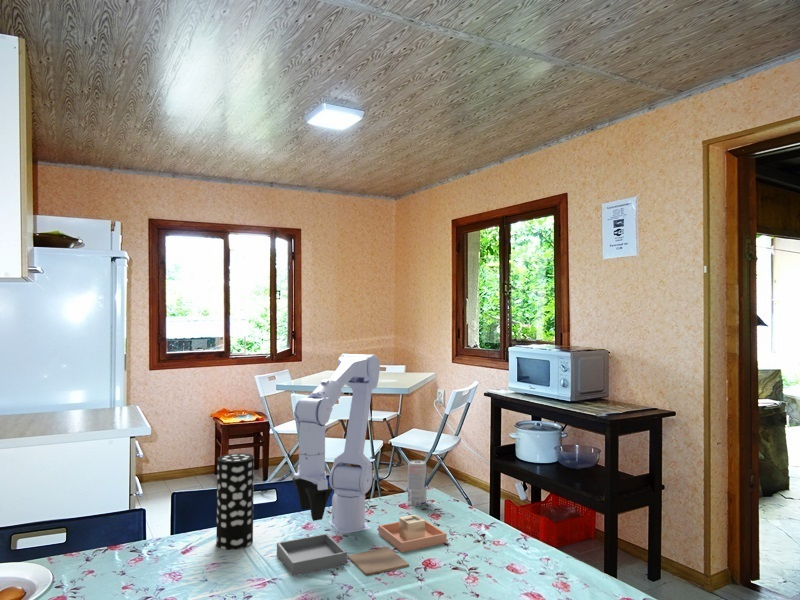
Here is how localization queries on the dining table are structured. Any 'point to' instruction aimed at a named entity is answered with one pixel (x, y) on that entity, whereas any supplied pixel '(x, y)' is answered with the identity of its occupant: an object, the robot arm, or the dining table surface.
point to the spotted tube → (235, 501)
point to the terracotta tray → (431, 538)
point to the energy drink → (417, 482)
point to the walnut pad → (377, 561)
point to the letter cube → (411, 527)
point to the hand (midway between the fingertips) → (311, 514)
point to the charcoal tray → (311, 554)
